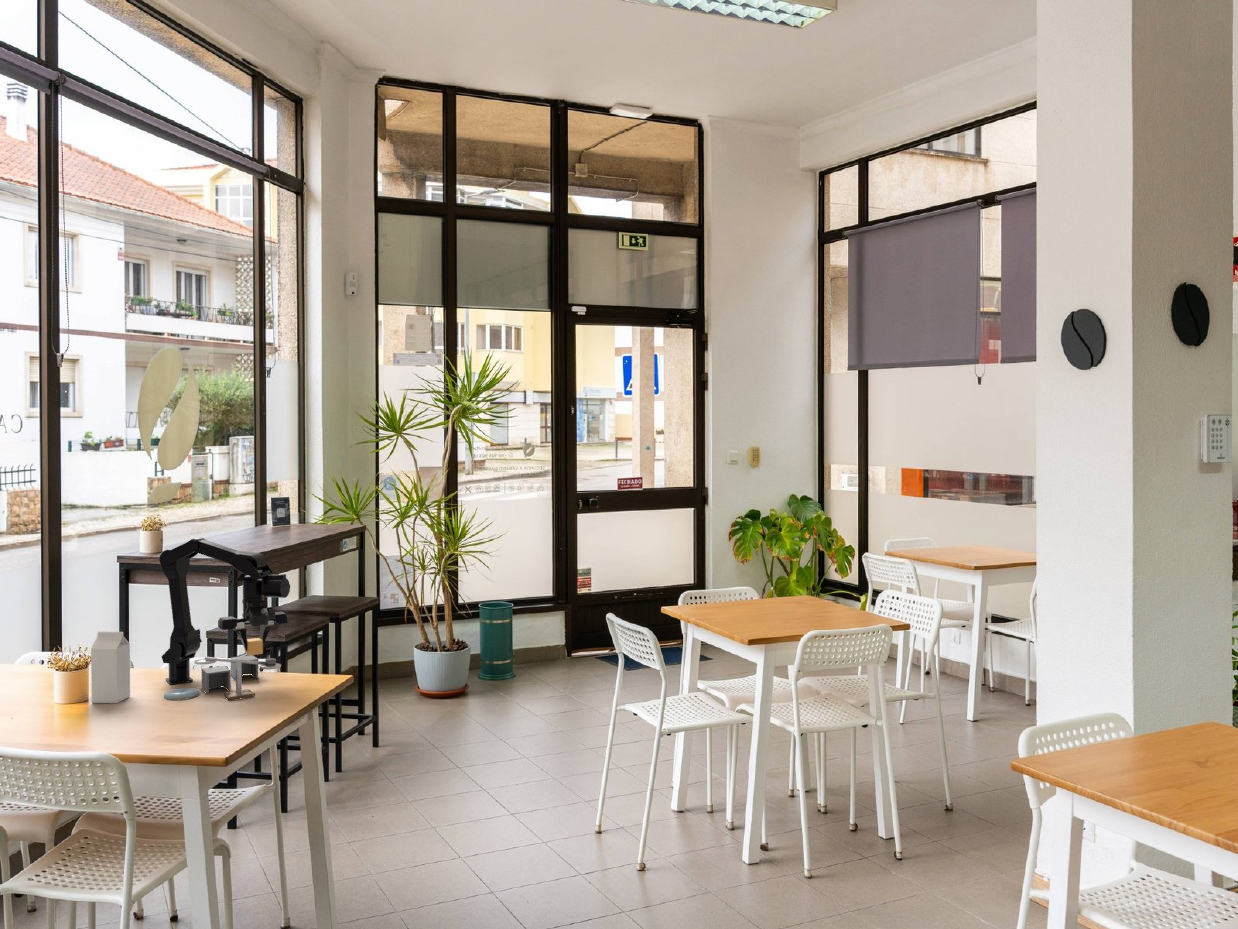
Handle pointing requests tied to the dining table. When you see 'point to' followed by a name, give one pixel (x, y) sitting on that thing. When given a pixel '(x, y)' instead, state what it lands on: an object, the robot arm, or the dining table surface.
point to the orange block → (254, 646)
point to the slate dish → (181, 693)
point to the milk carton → (110, 668)
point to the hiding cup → (245, 666)
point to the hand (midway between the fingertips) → (253, 649)
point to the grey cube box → (216, 678)
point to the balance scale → (240, 674)
